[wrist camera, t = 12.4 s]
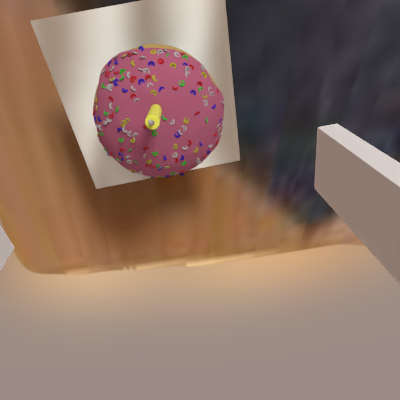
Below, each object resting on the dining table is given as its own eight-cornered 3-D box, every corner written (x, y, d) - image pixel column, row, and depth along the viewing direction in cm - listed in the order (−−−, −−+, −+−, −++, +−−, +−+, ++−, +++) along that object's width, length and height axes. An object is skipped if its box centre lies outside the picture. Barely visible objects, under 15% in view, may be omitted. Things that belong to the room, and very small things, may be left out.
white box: (205, -9, 27) (223, -15, 21) (222, 130, 34) (239, 160, 28) (60, 17, 27) (30, 20, 20) (107, 153, 34) (96, 189, 27)
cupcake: (82, 57, 22) (21, 99, 12) (197, 22, 21) (239, 34, 11) (127, 163, 26) (112, 259, 16) (222, 135, 26) (268, 215, 16)
